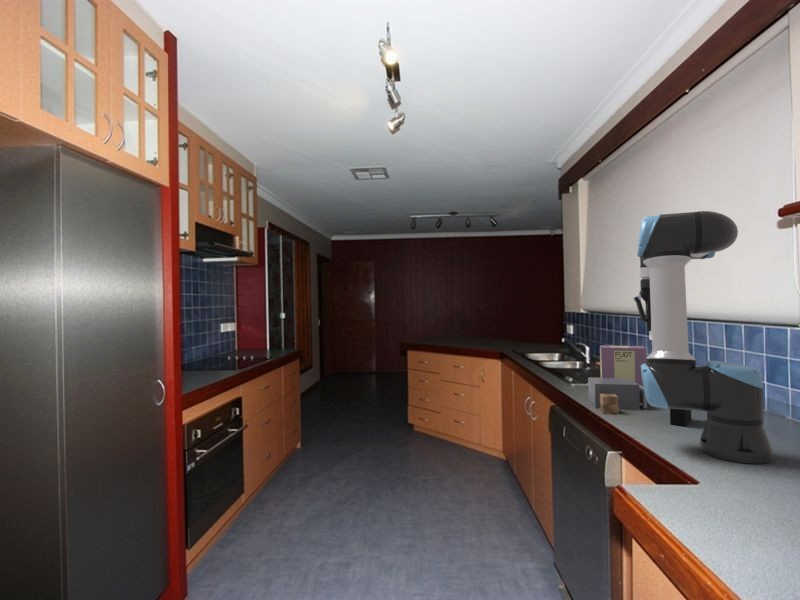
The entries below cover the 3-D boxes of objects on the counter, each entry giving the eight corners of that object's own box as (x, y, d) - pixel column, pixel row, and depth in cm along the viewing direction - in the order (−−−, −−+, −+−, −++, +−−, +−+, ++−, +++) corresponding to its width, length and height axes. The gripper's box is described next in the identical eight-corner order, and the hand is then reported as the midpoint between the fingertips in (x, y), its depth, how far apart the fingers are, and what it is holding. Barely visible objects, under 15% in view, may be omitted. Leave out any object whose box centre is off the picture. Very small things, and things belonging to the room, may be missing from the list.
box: (643, 392, 189) (642, 346, 189) (647, 397, 180) (646, 348, 180) (600, 390, 195) (599, 345, 195) (602, 394, 186) (601, 347, 186)
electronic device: (691, 420, 146) (691, 390, 146) (685, 427, 138) (684, 395, 138) (677, 418, 148) (676, 388, 148) (669, 424, 141) (669, 393, 141)
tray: (598, 407, 164) (598, 388, 164) (592, 398, 177) (591, 381, 177) (648, 408, 160) (648, 389, 160) (637, 400, 173) (637, 382, 173)
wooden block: (603, 413, 156) (602, 396, 156) (600, 410, 161) (599, 393, 161) (618, 414, 155) (618, 397, 155) (615, 410, 160) (614, 394, 160)
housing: (595, 408, 164) (594, 383, 164) (588, 399, 178) (588, 377, 178) (639, 409, 161) (639, 384, 161) (629, 401, 174) (628, 378, 174)
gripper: (635, 278, 168) (637, 340, 168) (673, 277, 165) (675, 340, 165) (630, 279, 175) (631, 338, 175) (666, 278, 172) (668, 338, 172)
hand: (652, 339), depth 170 cm, fingers closed
